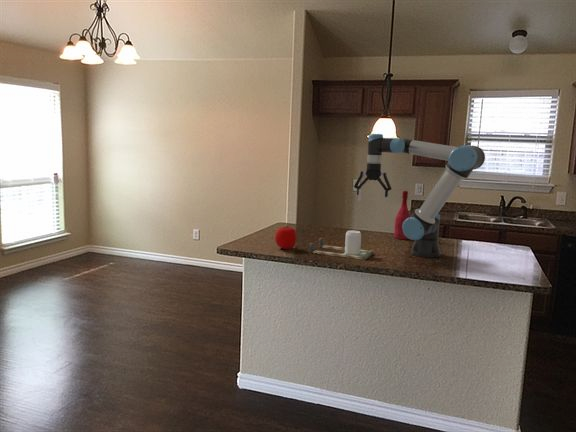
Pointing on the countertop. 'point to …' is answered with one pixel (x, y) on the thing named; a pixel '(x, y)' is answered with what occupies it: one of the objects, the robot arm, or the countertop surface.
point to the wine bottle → (401, 218)
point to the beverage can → (353, 242)
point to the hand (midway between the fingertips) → (371, 202)
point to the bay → (363, 253)
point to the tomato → (285, 237)
